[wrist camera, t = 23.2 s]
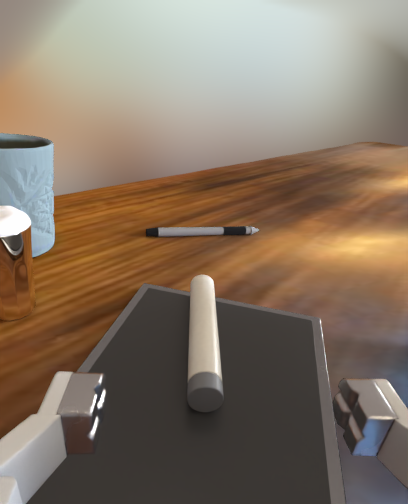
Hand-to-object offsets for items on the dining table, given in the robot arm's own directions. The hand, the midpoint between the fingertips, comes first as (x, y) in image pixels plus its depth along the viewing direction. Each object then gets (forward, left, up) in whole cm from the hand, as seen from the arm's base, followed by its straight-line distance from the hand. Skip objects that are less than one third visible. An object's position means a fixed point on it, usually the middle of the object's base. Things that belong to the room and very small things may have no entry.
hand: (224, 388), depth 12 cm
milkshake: (+11, +20, -10) cm, 25 cm away
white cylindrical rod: (+6, +1, -7) cm, 9 cm away
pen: (+34, +8, -10) cm, 36 cm away
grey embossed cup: (+22, +28, -10) cm, 37 cm away
